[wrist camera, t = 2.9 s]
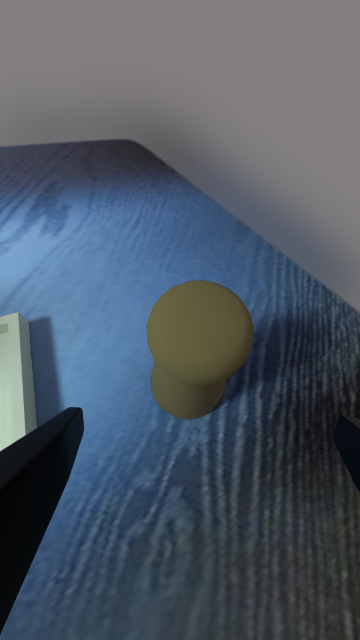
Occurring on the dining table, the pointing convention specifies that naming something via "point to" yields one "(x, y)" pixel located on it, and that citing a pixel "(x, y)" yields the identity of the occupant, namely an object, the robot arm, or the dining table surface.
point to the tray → (15, 380)
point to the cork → (196, 346)
